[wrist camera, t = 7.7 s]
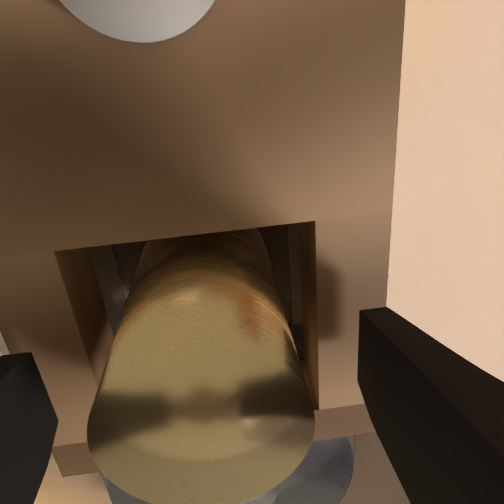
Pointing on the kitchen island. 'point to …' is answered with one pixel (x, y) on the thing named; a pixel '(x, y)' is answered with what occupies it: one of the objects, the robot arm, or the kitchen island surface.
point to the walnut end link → (193, 169)
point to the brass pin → (202, 377)
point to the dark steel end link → (323, 451)
